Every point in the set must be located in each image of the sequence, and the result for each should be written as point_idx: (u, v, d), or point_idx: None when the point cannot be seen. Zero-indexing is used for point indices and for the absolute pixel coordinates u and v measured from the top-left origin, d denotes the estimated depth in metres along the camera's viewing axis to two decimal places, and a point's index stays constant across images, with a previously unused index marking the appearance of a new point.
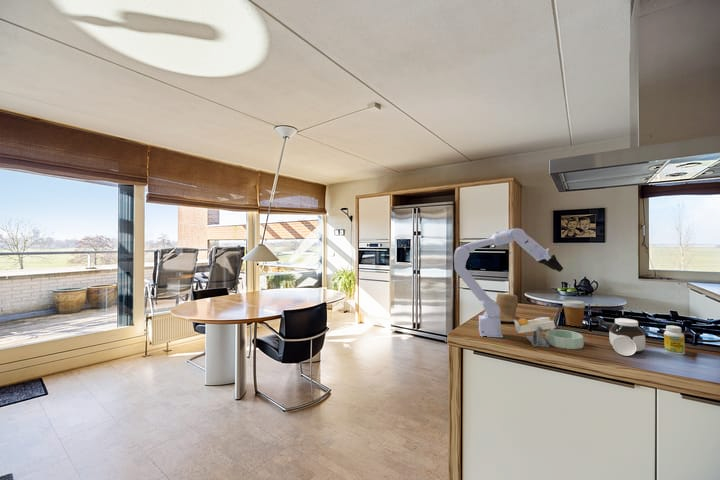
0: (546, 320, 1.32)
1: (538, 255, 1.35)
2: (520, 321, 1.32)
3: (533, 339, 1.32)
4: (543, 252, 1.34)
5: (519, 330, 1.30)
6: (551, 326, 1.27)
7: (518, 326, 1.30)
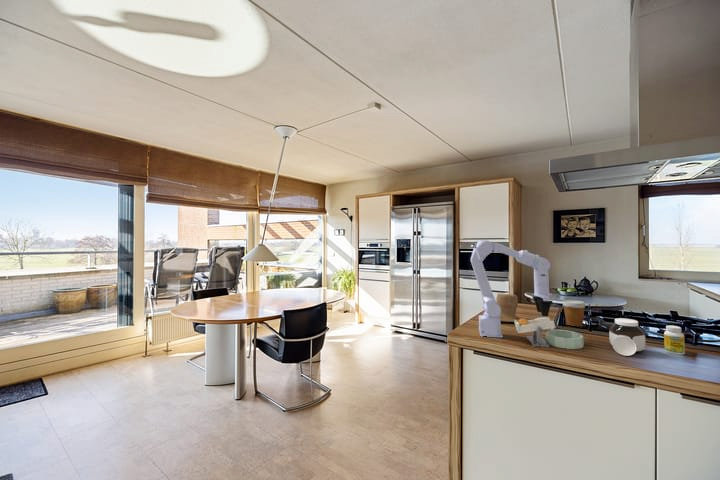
0: (546, 320, 1.32)
1: (539, 292, 1.36)
2: (520, 321, 1.32)
3: (533, 339, 1.32)
4: (546, 293, 1.36)
5: (519, 330, 1.30)
6: (551, 326, 1.27)
7: (518, 326, 1.30)
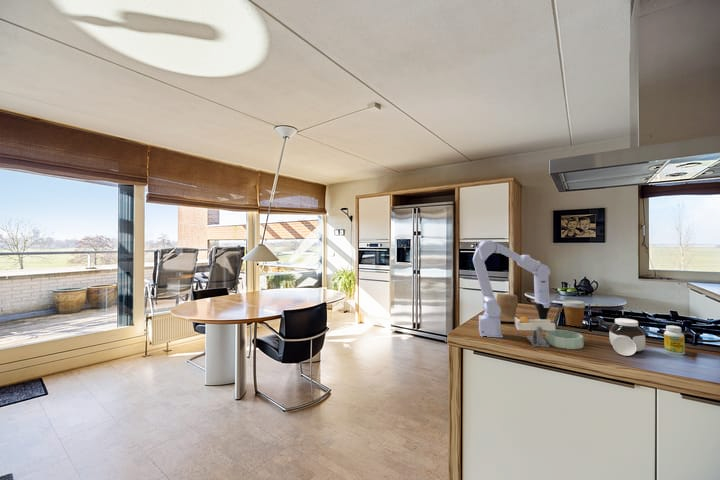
0: (547, 322, 1.32)
1: (540, 298, 1.36)
2: (521, 319, 1.32)
3: (533, 339, 1.32)
4: (546, 299, 1.36)
5: (519, 327, 1.30)
6: (551, 328, 1.27)
7: (518, 323, 1.30)
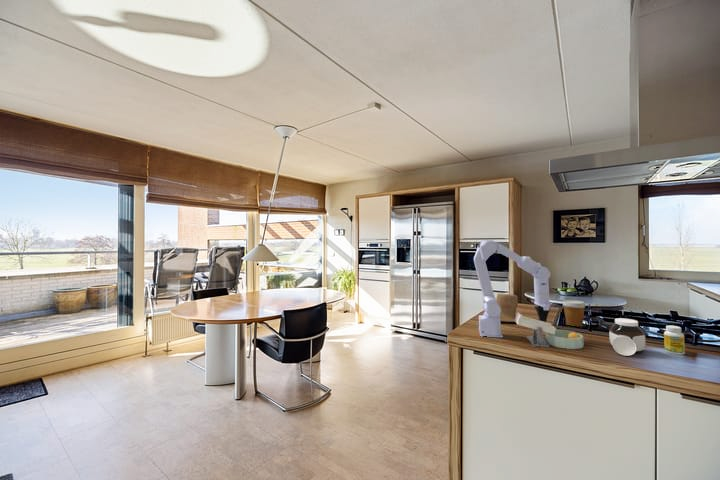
0: (547, 325, 1.32)
1: (540, 300, 1.36)
2: None
3: (533, 339, 1.32)
4: (546, 302, 1.36)
5: (519, 322, 1.30)
6: (551, 331, 1.27)
7: (520, 318, 1.30)
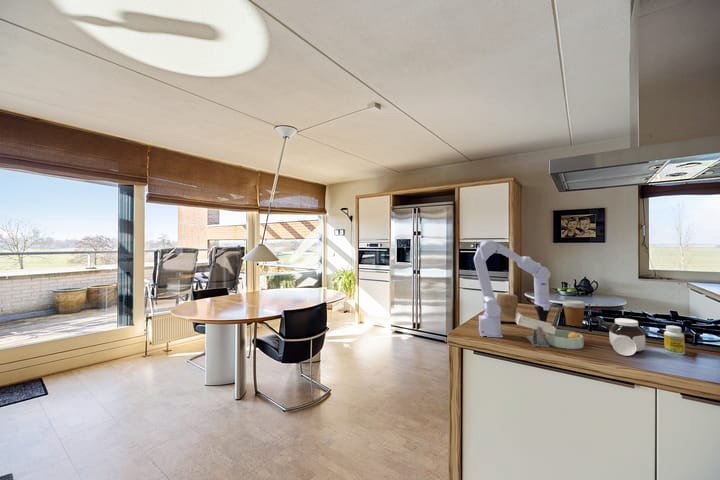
0: (547, 325, 1.32)
1: (540, 300, 1.36)
2: None
3: (533, 339, 1.32)
4: (546, 302, 1.36)
5: (519, 322, 1.30)
6: (551, 331, 1.27)
7: (520, 318, 1.30)
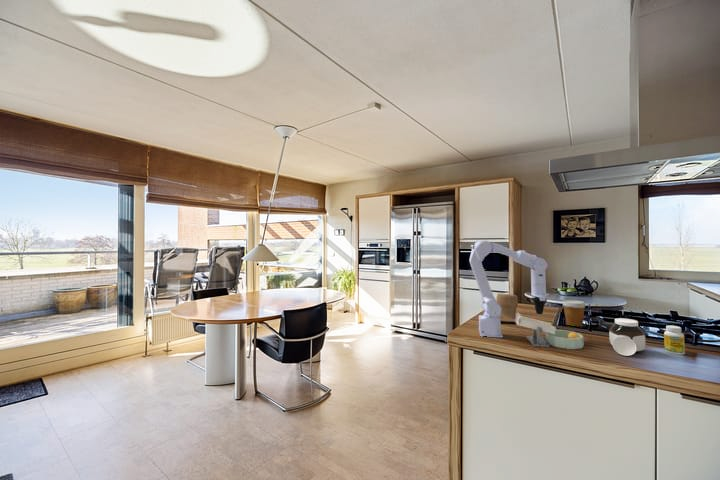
0: (547, 325, 1.32)
1: (536, 291, 1.38)
2: None
3: (533, 339, 1.32)
4: (542, 293, 1.37)
5: (519, 323, 1.30)
6: (551, 331, 1.27)
7: (520, 319, 1.30)
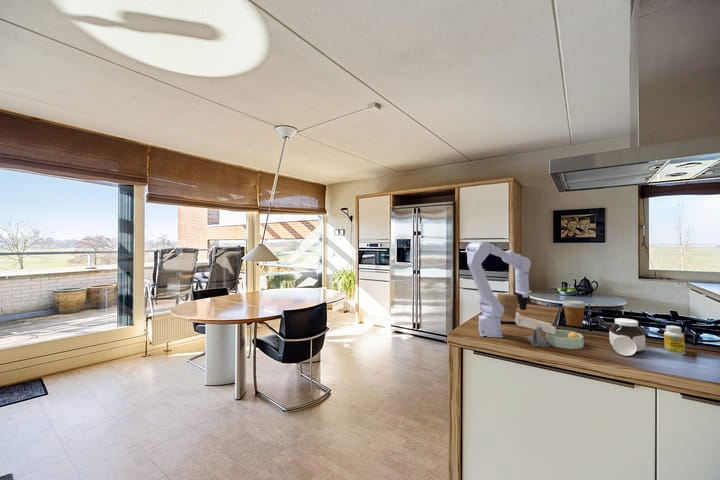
0: (547, 325, 1.32)
1: (520, 289, 1.46)
2: None
3: (533, 339, 1.32)
4: (525, 290, 1.45)
5: (519, 323, 1.30)
6: (551, 331, 1.27)
7: (520, 319, 1.30)
